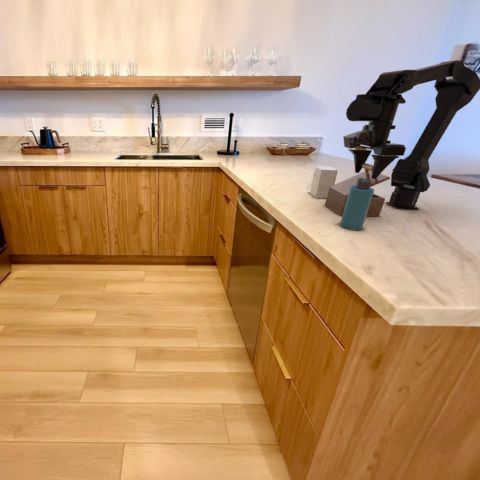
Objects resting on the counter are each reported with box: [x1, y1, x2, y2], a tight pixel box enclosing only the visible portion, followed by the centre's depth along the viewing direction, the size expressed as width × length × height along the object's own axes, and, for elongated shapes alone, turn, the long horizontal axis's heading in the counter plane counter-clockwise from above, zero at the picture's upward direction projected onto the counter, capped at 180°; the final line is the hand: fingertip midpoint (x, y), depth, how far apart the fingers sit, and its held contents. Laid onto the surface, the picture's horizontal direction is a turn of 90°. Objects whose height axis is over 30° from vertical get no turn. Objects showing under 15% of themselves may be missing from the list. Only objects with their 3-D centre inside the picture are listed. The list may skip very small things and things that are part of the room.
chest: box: [324, 189, 386, 218], centre depth 92 cm, size 12×11×6 cm
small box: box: [309, 165, 339, 199], centre depth 108 cm, size 8×6×10 cm
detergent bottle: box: [339, 180, 375, 231], centre depth 78 cm, size 5×5×13 cm
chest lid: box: [329, 162, 391, 197], centre depth 89 cm, size 12×11×4 cm
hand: (364, 175), depth 89 cm, fingers open, 8 cm apart
